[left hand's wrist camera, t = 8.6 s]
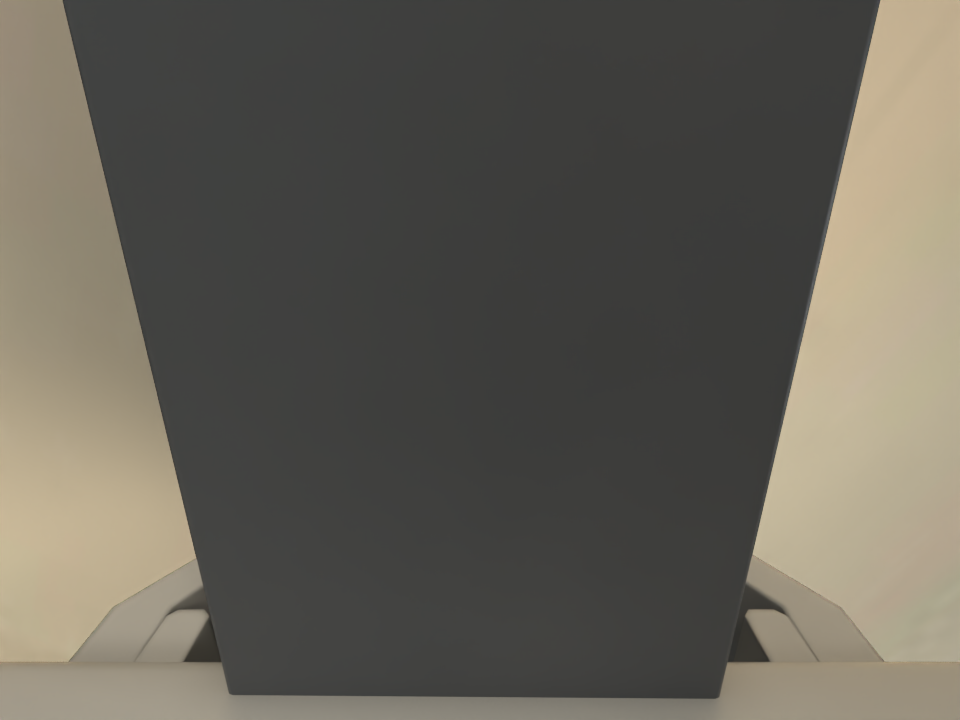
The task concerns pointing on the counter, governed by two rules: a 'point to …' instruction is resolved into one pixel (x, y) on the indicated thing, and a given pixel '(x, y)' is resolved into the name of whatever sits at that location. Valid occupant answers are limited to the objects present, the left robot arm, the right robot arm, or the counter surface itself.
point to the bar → (473, 319)
